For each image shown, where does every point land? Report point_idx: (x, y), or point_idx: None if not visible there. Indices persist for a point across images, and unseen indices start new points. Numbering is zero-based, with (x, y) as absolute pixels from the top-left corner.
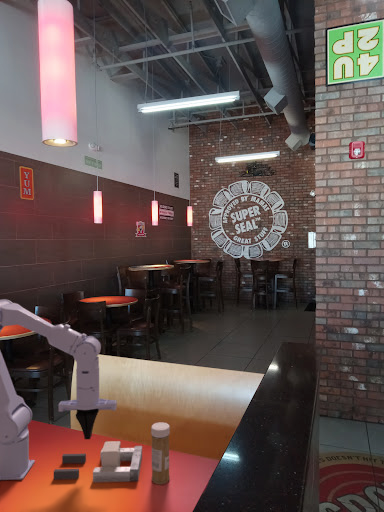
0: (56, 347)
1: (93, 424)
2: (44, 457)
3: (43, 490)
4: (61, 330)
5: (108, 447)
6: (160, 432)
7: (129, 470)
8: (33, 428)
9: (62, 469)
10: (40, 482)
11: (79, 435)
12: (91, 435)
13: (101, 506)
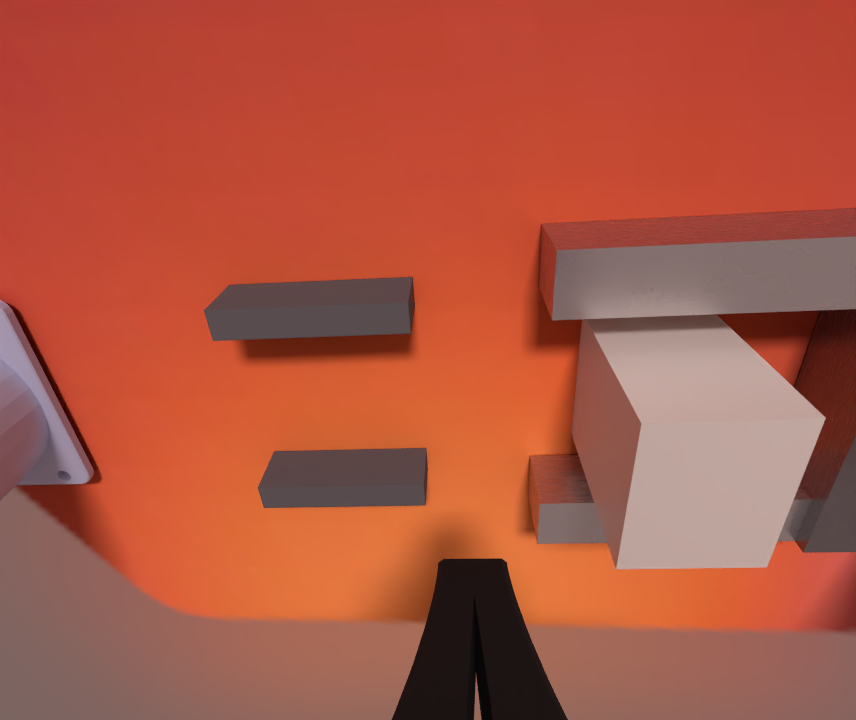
0: None
1: (550, 698)
2: (30, 226)
3: (276, 539)
4: None
5: (679, 515)
6: None
7: (794, 532)
8: None
9: (311, 491)
10: (217, 488)
11: None
12: (507, 573)
13: (601, 622)
